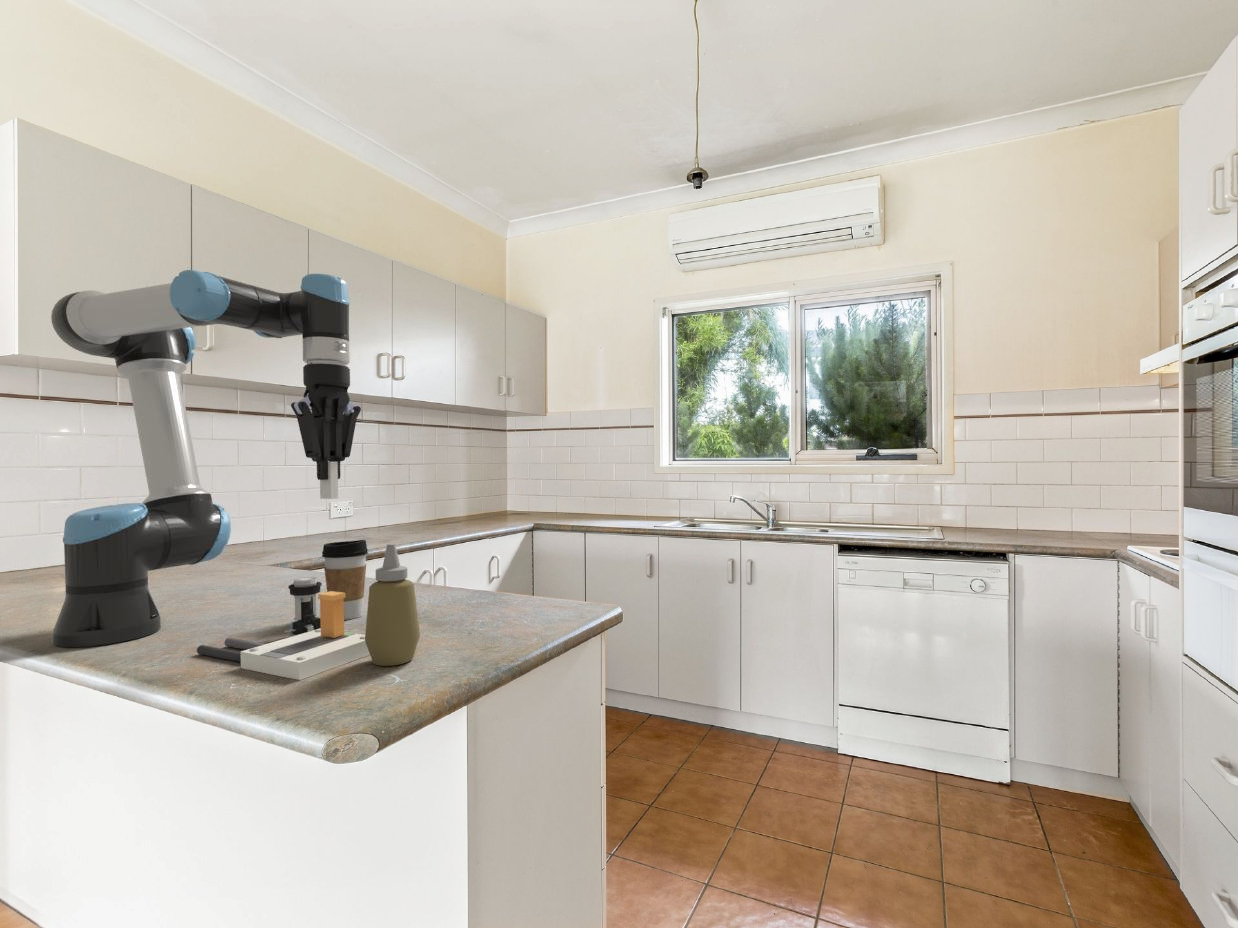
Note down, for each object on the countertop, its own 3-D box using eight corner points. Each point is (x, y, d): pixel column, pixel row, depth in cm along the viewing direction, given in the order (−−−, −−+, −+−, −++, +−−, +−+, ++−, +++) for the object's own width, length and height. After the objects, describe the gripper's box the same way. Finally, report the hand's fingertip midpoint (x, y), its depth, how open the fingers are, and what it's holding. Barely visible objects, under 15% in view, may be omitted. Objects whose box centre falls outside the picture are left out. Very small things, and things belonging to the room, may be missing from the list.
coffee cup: (358, 621, 122) (357, 543, 122) (314, 622, 123) (313, 544, 122) (375, 611, 131) (374, 538, 131) (335, 611, 131) (333, 538, 131)
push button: (293, 642, 109) (292, 584, 109) (275, 638, 112) (274, 581, 112) (328, 632, 115) (327, 577, 115) (310, 629, 118) (309, 575, 117)
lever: (318, 635, 103) (318, 593, 103) (331, 632, 105) (330, 591, 105) (333, 638, 101) (332, 595, 101) (346, 634, 103) (345, 592, 103)
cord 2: (224, 647, 107) (224, 638, 107) (232, 644, 108) (232, 636, 108) (274, 656, 101) (274, 647, 101) (282, 654, 102) (282, 645, 102)
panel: (240, 668, 96) (240, 650, 96) (320, 642, 108) (320, 627, 108) (299, 680, 90) (299, 661, 90) (376, 652, 103) (376, 635, 103)
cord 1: (196, 654, 103) (196, 646, 103) (205, 652, 104) (205, 643, 104) (247, 665, 97) (247, 656, 97) (256, 662, 98) (256, 653, 98)
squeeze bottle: (388, 673, 93) (386, 549, 92) (353, 664, 97) (351, 546, 97) (431, 657, 100) (429, 543, 99) (397, 650, 104) (395, 540, 104)
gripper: (309, 358, 105) (311, 501, 105) (371, 367, 117) (373, 496, 117) (278, 361, 108) (281, 500, 108) (342, 370, 120) (344, 495, 120)
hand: (329, 498), depth 113 cm, fingers closed
